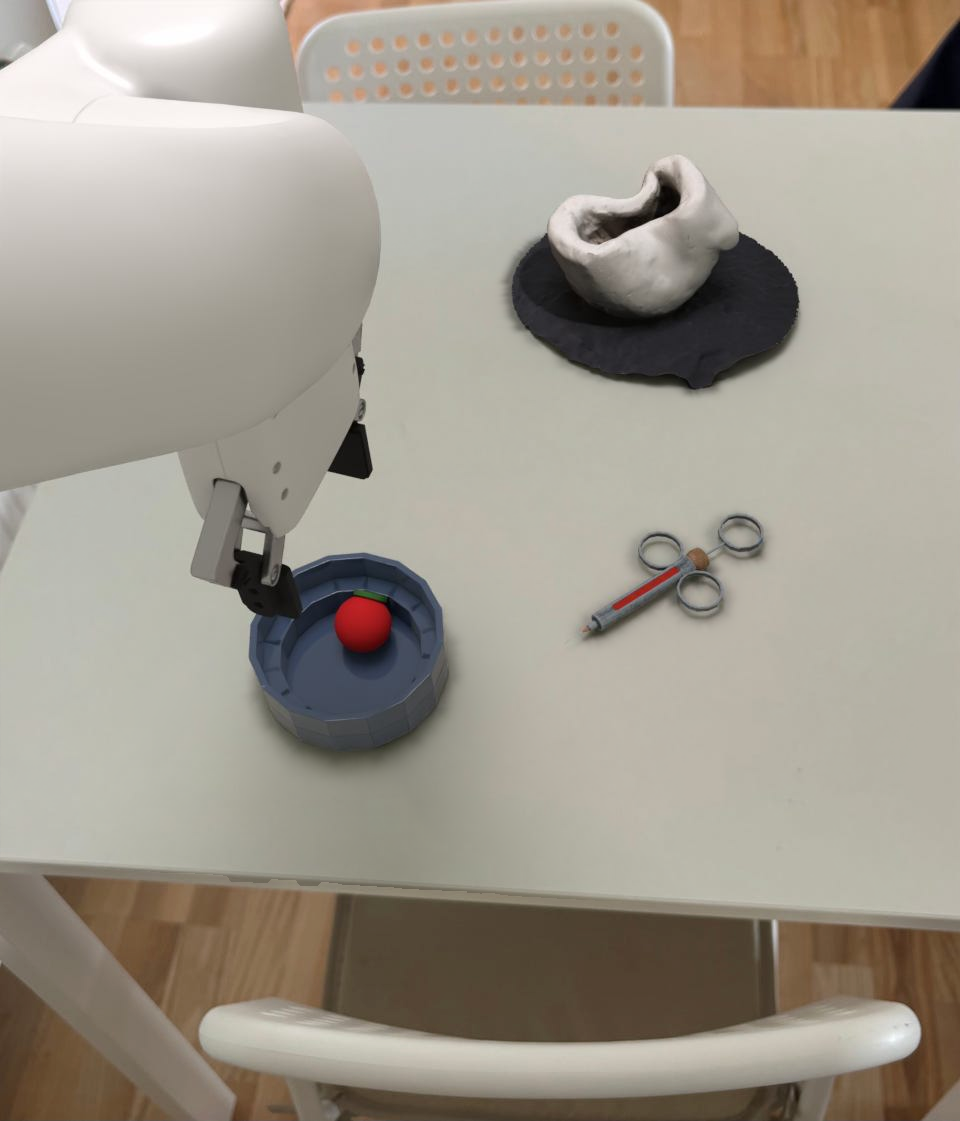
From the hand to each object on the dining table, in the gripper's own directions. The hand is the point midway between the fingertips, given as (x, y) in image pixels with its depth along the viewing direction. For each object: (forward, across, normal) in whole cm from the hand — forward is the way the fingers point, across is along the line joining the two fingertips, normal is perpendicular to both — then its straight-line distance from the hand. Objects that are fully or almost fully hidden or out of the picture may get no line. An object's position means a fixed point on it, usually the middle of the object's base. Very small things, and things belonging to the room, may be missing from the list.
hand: (311, 536), depth 59 cm
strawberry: (+18, -4, -2) cm, 19 cm away
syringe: (+20, -16, +18) cm, 31 cm away
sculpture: (+20, -46, +10) cm, 51 cm away
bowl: (+20, -3, -2) cm, 20 cm away
